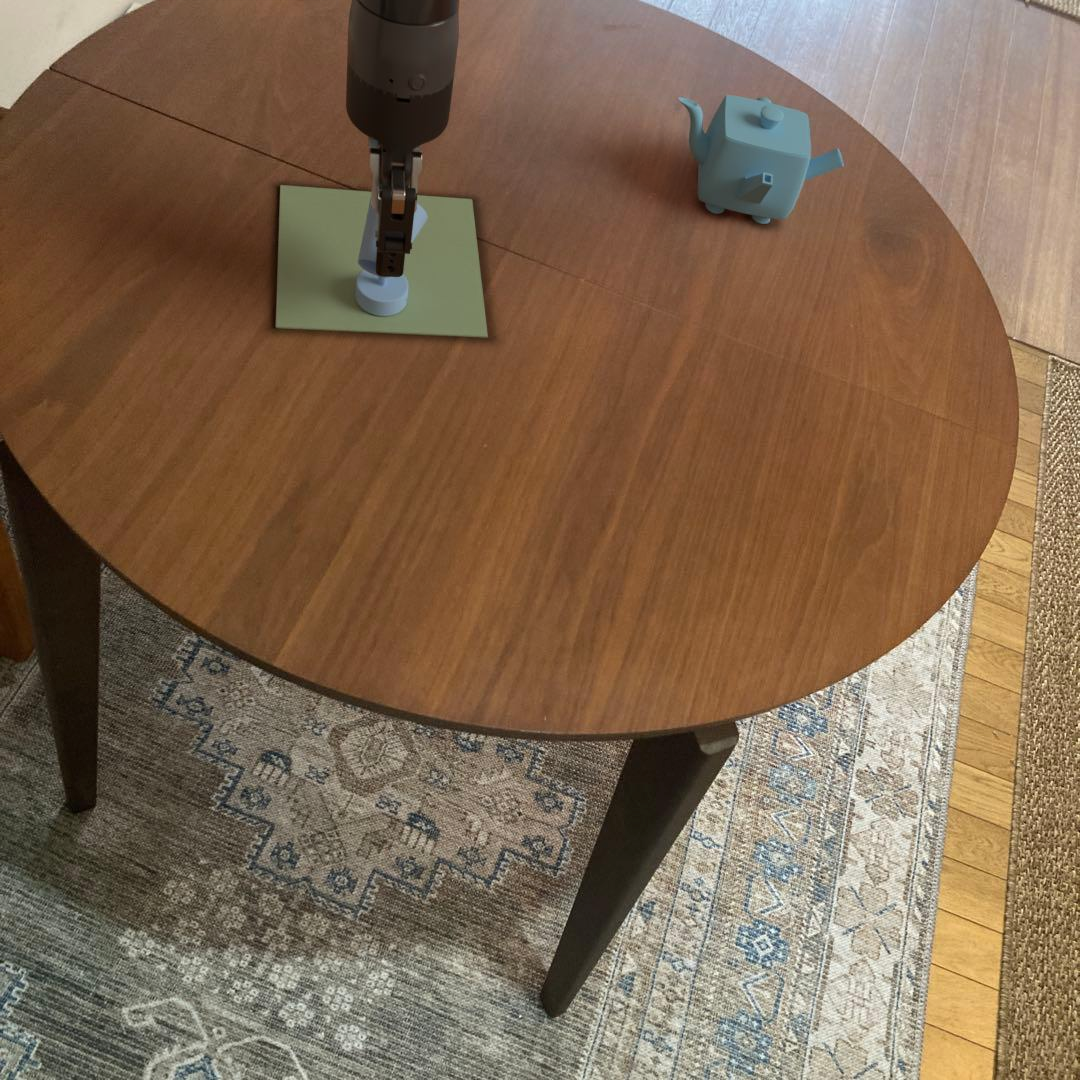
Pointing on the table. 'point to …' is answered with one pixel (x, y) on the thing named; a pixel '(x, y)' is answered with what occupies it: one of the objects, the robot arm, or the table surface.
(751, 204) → the teapot
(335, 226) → the mat
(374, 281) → the spotlight
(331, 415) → the table surface
